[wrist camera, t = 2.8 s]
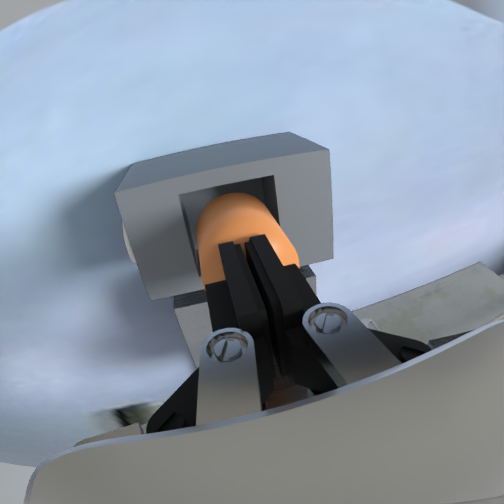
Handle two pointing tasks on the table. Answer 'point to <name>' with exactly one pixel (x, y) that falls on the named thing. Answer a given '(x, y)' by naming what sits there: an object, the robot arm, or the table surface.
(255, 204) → the button
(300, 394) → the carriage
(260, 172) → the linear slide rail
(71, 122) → the table surface
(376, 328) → the geiger counter
